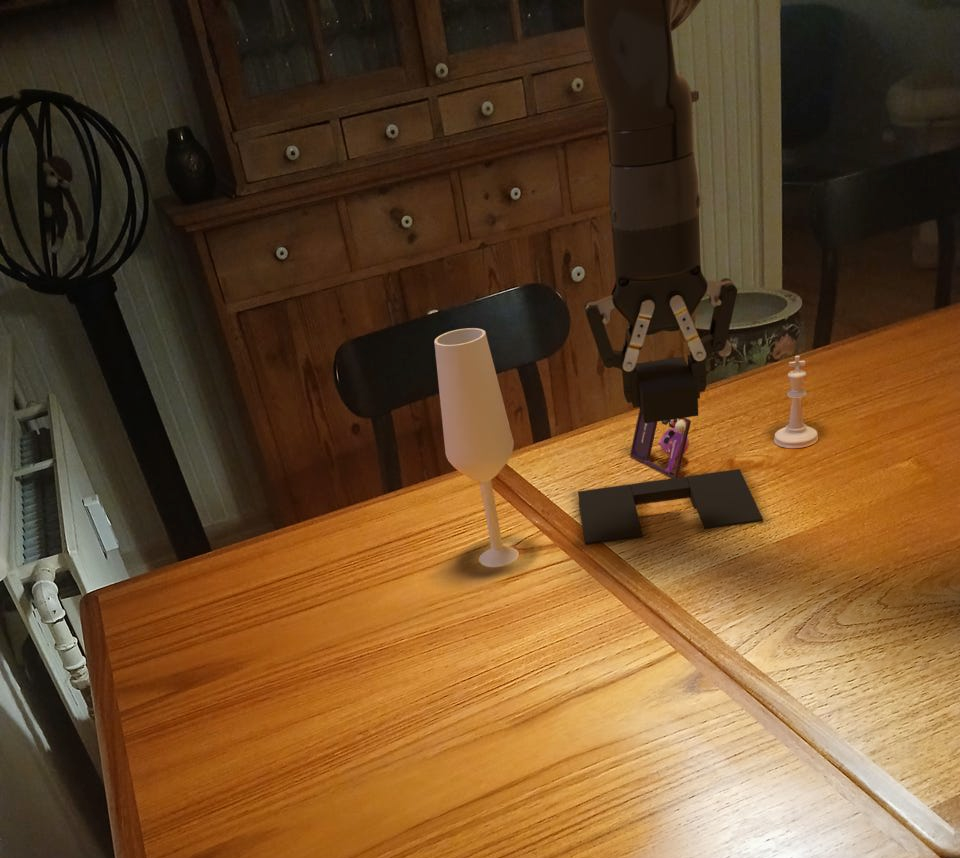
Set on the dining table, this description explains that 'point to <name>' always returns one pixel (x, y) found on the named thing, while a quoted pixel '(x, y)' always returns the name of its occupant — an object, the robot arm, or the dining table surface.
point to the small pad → (667, 390)
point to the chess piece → (796, 414)
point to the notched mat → (711, 494)
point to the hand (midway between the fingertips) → (664, 399)
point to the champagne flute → (475, 422)
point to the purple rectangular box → (661, 442)
